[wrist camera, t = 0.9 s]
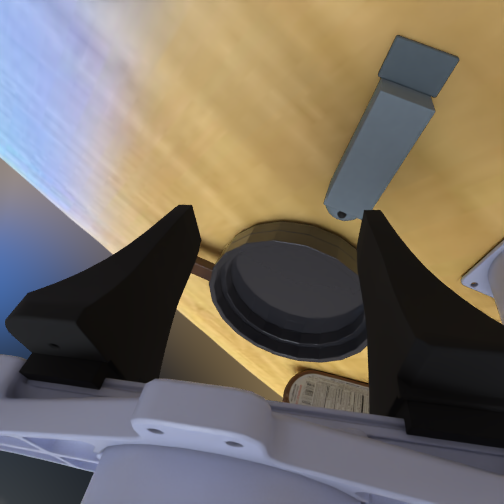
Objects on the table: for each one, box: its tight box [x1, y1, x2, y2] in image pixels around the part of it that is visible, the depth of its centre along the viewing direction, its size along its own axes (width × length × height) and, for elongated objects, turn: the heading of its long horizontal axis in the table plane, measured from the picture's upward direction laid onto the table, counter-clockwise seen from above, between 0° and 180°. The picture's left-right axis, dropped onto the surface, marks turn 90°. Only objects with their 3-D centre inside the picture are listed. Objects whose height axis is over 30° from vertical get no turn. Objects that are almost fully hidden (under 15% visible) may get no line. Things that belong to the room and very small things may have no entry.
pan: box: [209, 221, 367, 362], centre depth 33 cm, size 17×17×4 cm
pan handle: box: [191, 256, 215, 281], centre depth 33 cm, size 8×2×1 cm, turn 76°
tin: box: [283, 370, 369, 414], centre depth 40 cm, size 15×3×8 cm, turn 94°
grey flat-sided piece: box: [324, 35, 459, 221], centre depth 21 cm, size 12×4×4 cm, turn 166°
